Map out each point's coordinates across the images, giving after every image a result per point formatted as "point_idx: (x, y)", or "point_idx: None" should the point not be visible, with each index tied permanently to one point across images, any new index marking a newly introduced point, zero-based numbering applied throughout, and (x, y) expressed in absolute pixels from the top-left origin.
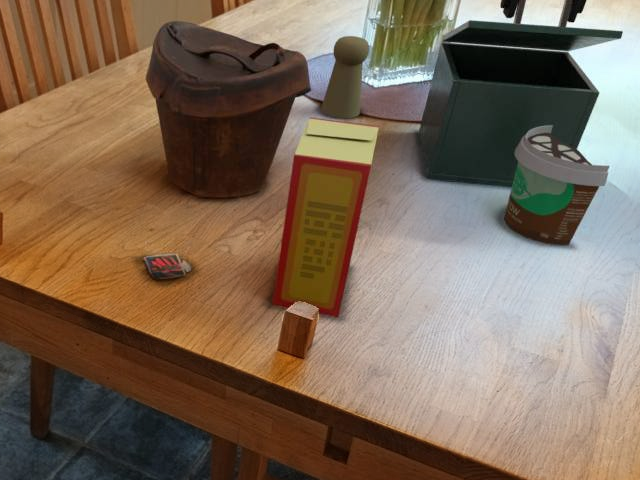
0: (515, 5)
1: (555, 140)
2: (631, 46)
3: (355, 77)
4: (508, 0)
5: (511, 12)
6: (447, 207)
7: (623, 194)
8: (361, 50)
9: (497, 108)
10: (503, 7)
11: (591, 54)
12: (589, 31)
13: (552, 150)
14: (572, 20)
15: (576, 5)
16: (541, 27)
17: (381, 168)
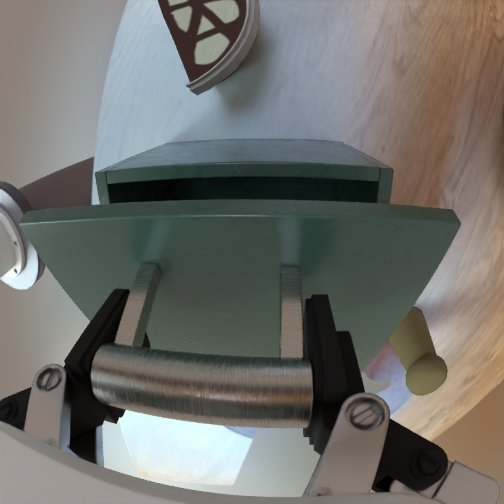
0: (316, 319)
1: (187, 51)
2: (126, 446)
3: (414, 345)
4: (339, 345)
5: (320, 302)
6: (321, 60)
7: (100, 166)
8: (425, 369)
9: (280, 153)
10: (342, 331)
11: (147, 442)
12: (78, 213)
13: (202, 6)
14: (120, 289)
15: (104, 317)
16: (219, 211)
17: (395, 165)
